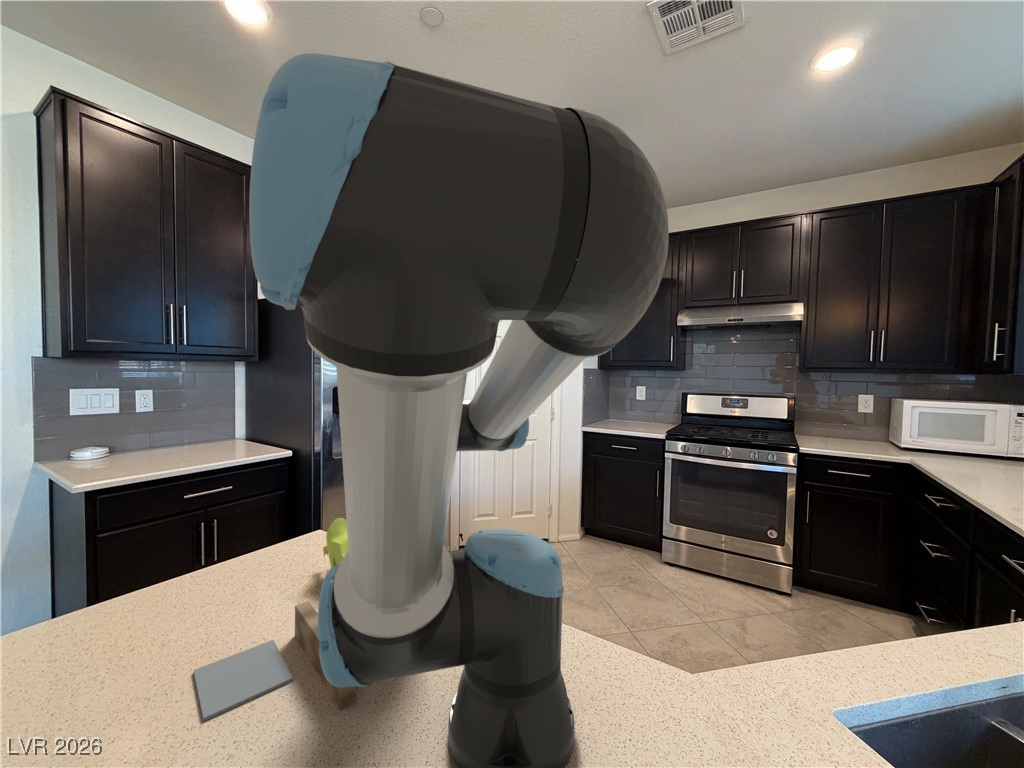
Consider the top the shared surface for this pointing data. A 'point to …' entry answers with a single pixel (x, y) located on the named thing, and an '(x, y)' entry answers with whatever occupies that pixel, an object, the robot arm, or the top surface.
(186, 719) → the top surface
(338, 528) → the toy
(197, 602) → the top surface
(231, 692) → the grey mat
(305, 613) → the walnut wall
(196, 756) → the top surface
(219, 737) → the top surface
